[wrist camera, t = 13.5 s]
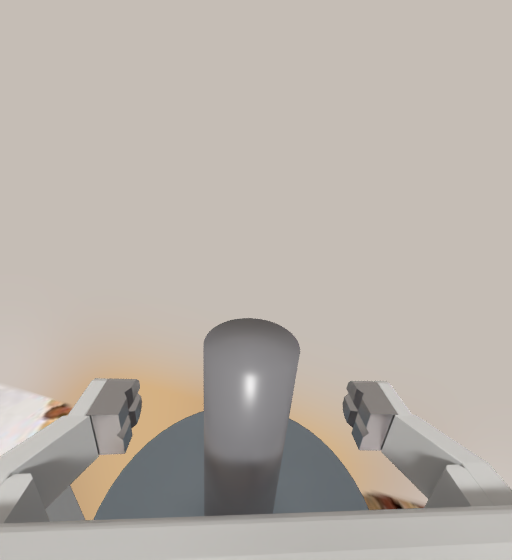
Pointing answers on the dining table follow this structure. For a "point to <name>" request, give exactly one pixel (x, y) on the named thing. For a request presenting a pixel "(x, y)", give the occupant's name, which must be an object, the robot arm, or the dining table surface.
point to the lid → (236, 442)
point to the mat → (65, 508)
